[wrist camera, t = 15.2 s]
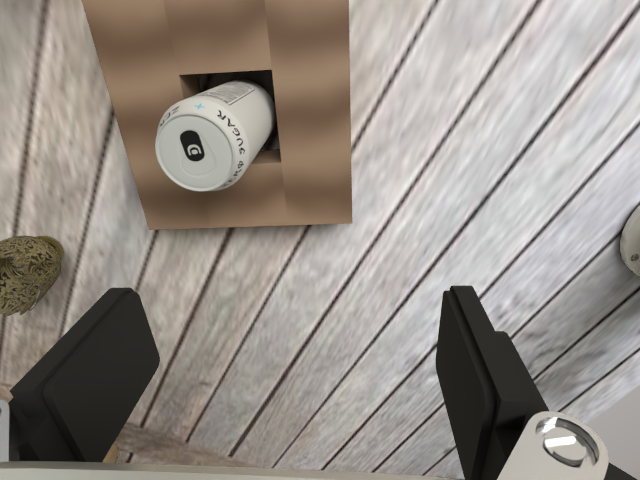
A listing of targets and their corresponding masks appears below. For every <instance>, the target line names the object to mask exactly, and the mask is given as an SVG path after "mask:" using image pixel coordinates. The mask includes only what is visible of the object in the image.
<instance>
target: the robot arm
mask: <svg viewBox="0 0 640 480" xmlns="http://www.w3.org/2000/svg"><path fill="white" fill-rule="evenodd" d="M620 252H621V256H622V259H623V261H624V263H625V264H626V266H627V267H628V268H629V269H630V270H631V271H633V272H634V273H635V274H637V275H638V276H639V277H640V205H639V206H638V208H637V209H636V210H635V211H634V212H633V214H632V215H631V216H630V218H629V219H628V221H627V223H626V225H625V227H624V229H623V231H622V235H621V240H620ZM159 362H160V357H159V353H158V350H157V347H156V344H155V341H154V338H153V335H152V332H151V329H150V326H149V323H148V320H147V317H146V314H145V311H144V308H143V305H142V302H141V299H140V296H139V294H138V293H136V292H134V290H133V289H132V288H110V289H109V290H108V291H107V292H106V293H105V294H104V295H103V296H102V297H101V298H100V299H99V300H98V301H97V302H96V303H95V304H94V305H93V306H92V307H91V308H90V309H89V310H88V311H87V312H86V313H85V314H84V315H83V316H82V317H81V318H80V319H79V320H78V322H77V323H76V324H75V325H74V326H73V327H72V328H71V329H70V330H69V331H68V332H67V333H66V334H65V335H64V336H63V337H62V338H61V339H60V340H59V341H58V342H57V343H56V344H55V345H54V346H53V347H52V348H51V349H50V350H49V351H48V352H47V353H46V354H45V355H44V356H43V357H42V358H41V359H40V360H39V361H38V363H37V364H36V365H35V366H34V367H33V368H32V369H31V370H30V371H29V372H28V373H27V374H26V375H25V376H24V377H23V378H22V379H21V380H20V381H19V382H18V383H17V384H16V385H15V386H14V387H13V388H12V389H11V390H10V392H11V394H12V395H13V397H14V398H13V399H12V400H11V401H10V402H9V403H7V402H6V401H4V400H0V480H461V479H452V478H443V477H433V476H419V475H402V474H385V473H369V472H346V471H322V470H299V469H275V468H249V467H222V466H194V465H166V464H135V463H102V462H103V460H104V458H105V457H106V455H107V453H108V451H109V450H110V448H111V446H112V445H113V443H114V441H115V440H116V438H117V436H118V434H119V433H120V431H121V429H122V428H123V426H124V424H125V423H126V421H127V419H128V418H129V416H130V414H131V412H132V411H133V409H134V407H135V406H136V404H137V402H138V401H139V399H140V397H141V396H142V394H143V392H144V390H145V389H146V387H147V385H148V384H149V382H150V380H151V379H152V377H153V375H154V374H155V372H156V370H157V368H158V366H159ZM436 370H437V374H438V378H439V382H440V386H441V390H442V393H443V397H444V401H445V405H446V409H447V413H448V416H449V420H450V424H451V428H452V432H453V435H454V439H455V443H456V447H457V451H458V454H459V458H460V462H461V466H462V470H463V473H464V477H465V480H637V479H635V478H634V477H632V476H631V475H629V474H627V473H626V472H624V471H622V470H621V469H619V468H617V467H616V466H614V465H612V464H611V463H609V454H608V452H607V449H606V446H605V444H604V443H603V442H602V440H601V438H600V437H599V436H598V434H596V433H595V432H594V431H593V430H592V429H591V428H590V427H589V426H588V425H586V424H585V423H583V422H581V421H580V420H578V419H577V418H574V417H572V416H569V415H567V414H564V413H560V412H554V411H549V410H548V408H547V406H546V404H545V402H544V400H543V398H542V397H541V395H540V393H539V391H538V389H537V387H536V385H535V384H534V382H533V380H532V378H531V376H530V374H529V372H528V371H527V369H526V367H525V365H524V363H523V361H522V359H521V358H520V356H519V354H518V352H517V350H516V348H515V346H514V345H513V343H512V341H511V339H510V337H509V336H508V334H507V333H505V332H504V331H495V330H494V328H493V326H492V324H491V322H490V320H489V318H488V316H487V314H486V312H485V310H484V308H483V306H482V304H481V302H480V300H479V298H478V296H477V294H476V292H475V290H474V288H473V287H472V286H451V288H450V291H444V293H443V300H442V308H441V317H440V326H439V335H438V344H437V353H436Z"/></svg>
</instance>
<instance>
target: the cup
mask: <svg viewBox="0 0 640 480" xmlns="http://www.w3.org/2000/svg"><path fill="white" fill-rule="evenodd" d="M62 256H63V249H62V247H61V245H60V244H59V243H58V242H57V241H56V240H55V239H53V238H51V237H48V236H37V237H31V236H16V237H12V238H8V239H5V240H3V241H0V314H5V313H6V312H7V316H9V315H11V314H14V313H16V312H19V311H20V315H22V314H23V313H25V312H26V311H27V310H29V311H30V310H32V309H33V307H34V306H35V305H36V304H37V303H38V301H39V300H40V299H41V298H42V297H43V296H44V295H45V293H46V292H47V291H48V290H49V289H50V287H51V286H52V285H53V284H54V282H55V281H56V279H57V277H58V276H59V273H60V270H61V261H60V260H61V259H62Z"/></svg>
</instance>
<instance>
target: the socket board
mask: <svg viewBox="0 0 640 480" xmlns="http://www.w3.org/2000/svg"><path fill="white" fill-rule="evenodd" d="M82 3H83V6H84V10H85V13H86V16H87V20H88V23H89V27H90V30H91V33H92V37H93V40H94V44H95V47H96V50H97V54H98V57H99V61H100V64H101V67H102V71H103V74H104V78H105V81H106V84H107V88H108V91H109V95H110V98H111V101H112V105H113V108H114V111H115V115H116V118H117V122H118V125H119V128H120V132H121V135H122V139H123V142H124V145H125V149H126V152H127V156H128V159H129V162H130V166H131V169H132V173H133V176H134V179H135V183H136V186H137V190H138V193H139V196H140V200H141V203H142V207H143V210H144V213H145V217H146V220H147V224H148V227H149V230H160V229H191V228H221V227H252V226H283V225H313V224H344V223H352V183H351V120H350V58H349V0H82ZM257 70H272V77H273V86H274V96H275V106H276V115H277V125H278V135H279V144H280V150H267V151H259V152H258V153H257V155H256V156H255V158H254V159H253V161H252V162H251V164H250V165H249V167H248V168H247V169H246V171H245V172H244V174H243V175H242V176H241V178H240V179H239V180H238V181H237V182H235V183H234V184H233V185H231V186H229V187H227V188H225V189H222V190H218V191H202V192H200V191H192V190H189V189H186V188H184V187H181V186H179V185H178V184H176V183H175V182H174V181H172V180H171V179H170V178H169V177H168V176H167V175H166V174H165V172H164V171H163V170H162V168H161V166H160V164H159V162H158V159H157V156H156V150H155V142H156V136H157V130H158V126H159V123H160V120H161V118H162V117H163V115H164V113H165V112H166V111H167V110H168V109H169V108H170V107H171V106H172V105H174V104H176V103H177V102H179V101H182V100H184V99H187V98H189V97H192V96H194V95H197V94H199V93H201V90H200V85H199V80H198V74H204V73H221V72H239V71H257Z"/></svg>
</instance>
